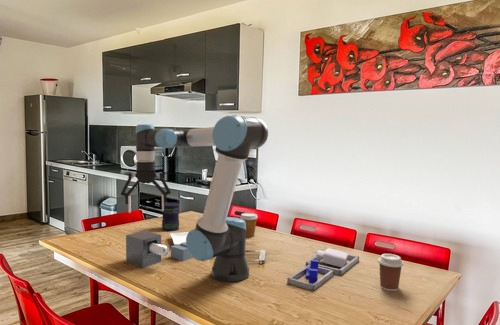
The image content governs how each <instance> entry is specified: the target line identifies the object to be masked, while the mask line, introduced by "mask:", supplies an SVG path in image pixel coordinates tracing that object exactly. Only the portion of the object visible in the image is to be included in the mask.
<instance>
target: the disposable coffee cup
mask: <svg viewBox="0 0 500 325" xmlns="http://www.w3.org/2000/svg"><path fill="white" fill-rule="evenodd" d="M240 219H243V220H244V221H245V222H246V238H253V237H255V233H256V227H257V219H258V214H256V213H254V212H243V213H241V215H240Z"/></svg>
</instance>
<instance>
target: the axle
mask: <svg viewBox="0 0 500 325" xmlns="http://www.w3.org/2000/svg"><path fill="white" fill-rule="evenodd" d="M148 252H152V253H155V254H158V255H161V257H166V256H167V255H168V254H169V252H170V249H169V247H168V246H166V245H163V244H161V245H159V244H156V243H152V242H148Z"/></svg>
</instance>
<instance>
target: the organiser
mask: <svg viewBox="0 0 500 325" xmlns="http://www.w3.org/2000/svg"><path fill="white" fill-rule="evenodd" d="M323 251H324V252H325V250H323ZM321 259H322V258H321V257H318V256H316V255H315V256H314V257H311V258H310V259H309V260H307V261H306V262H305V266H304V267H303V268H302V269H300V270H298V271H297V272H295V273H293V274H292V275H290V276H289V277H286V278H287V279H286V280H287V282H286V283H287V284H289V285H291V286H292V285H293V286H296V287H299V288H301V289H302V288H303V289H306V290H309V291H313V292H314V291H315V290H316V289H318V288H319V287H321V286H322V285H324V283H325V282H327V281H328V280H330V279H331V278H333V277H334V275H337V276H342V275H343V274H345V273H346V272H347V271H348V270H350V269H351V268H352V267H354V266H355V265H356V264H357V263H359V262H360V256H358V255H353V254H349V253H348V258H347V260H350V261H349V262H347V263H346V265H345V266H344V267H342V268H341V267H340V269H339V268H335V267H330V266H327V265H322V264H319V263H318V274H319V273H321V274H323V276H321V277H320V278H319V279H317V281H316V282H315V283H313V284H311V283H309V282H307V281H303V280H300V278H301V277H303V276H304V275H306V271H307V266H308V267H311V260H318V261H320V260H321Z"/></svg>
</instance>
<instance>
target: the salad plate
mask: <svg viewBox="0 0 500 325" xmlns="http://www.w3.org/2000/svg"><path fill="white" fill-rule="evenodd" d="M189 232H190V231H185V232H182V231H181V232H170V233H169V236H170V237H171V239H172V243H173V246H174V245H178V246H180V243H183V242H186V237H187V234H188V233H189Z"/></svg>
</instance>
